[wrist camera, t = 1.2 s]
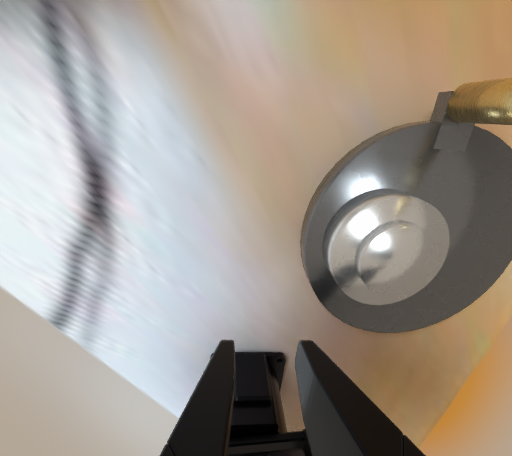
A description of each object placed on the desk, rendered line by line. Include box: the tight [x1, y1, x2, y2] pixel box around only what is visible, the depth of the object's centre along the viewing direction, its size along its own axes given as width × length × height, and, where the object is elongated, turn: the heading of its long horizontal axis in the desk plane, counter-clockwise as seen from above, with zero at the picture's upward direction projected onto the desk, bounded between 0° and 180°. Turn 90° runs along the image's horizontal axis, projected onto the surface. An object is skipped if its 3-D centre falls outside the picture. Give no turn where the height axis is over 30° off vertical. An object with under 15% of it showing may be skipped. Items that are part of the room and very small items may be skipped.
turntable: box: [300, 78, 512, 333], centre depth 16 cm, size 17×15×8 cm
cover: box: [322, 188, 450, 305], centre depth 17 cm, size 7×7×3 cm
